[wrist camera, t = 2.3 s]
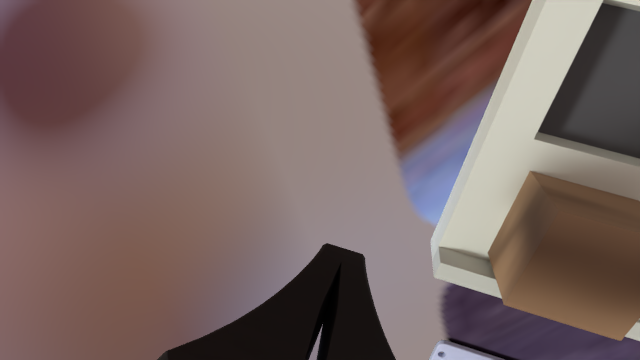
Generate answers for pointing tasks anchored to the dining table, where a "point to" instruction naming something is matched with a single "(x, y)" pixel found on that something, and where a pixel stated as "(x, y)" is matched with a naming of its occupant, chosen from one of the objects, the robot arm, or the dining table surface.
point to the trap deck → (548, 127)
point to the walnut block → (571, 255)
